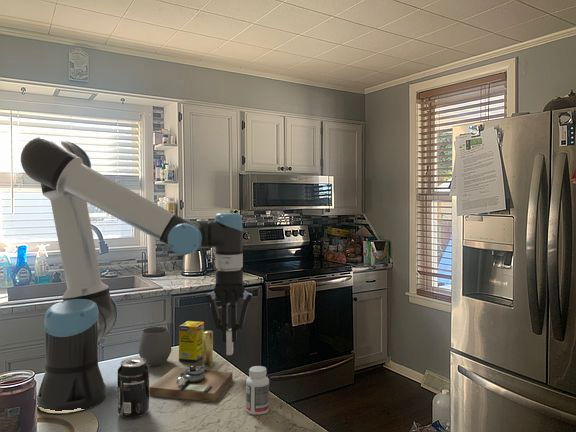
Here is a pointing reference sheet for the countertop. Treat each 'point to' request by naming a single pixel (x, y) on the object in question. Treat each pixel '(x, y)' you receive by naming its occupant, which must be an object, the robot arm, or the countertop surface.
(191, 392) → the stand
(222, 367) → the countertop surface
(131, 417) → the beverage can
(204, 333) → the crank handle
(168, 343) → the cup
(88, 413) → the countertop surface
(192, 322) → the supplement box
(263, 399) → the pill bottle
